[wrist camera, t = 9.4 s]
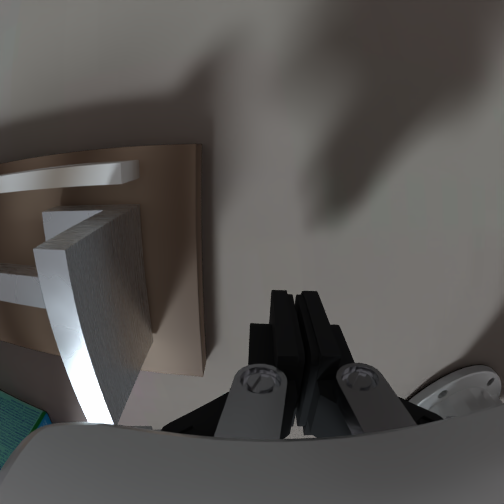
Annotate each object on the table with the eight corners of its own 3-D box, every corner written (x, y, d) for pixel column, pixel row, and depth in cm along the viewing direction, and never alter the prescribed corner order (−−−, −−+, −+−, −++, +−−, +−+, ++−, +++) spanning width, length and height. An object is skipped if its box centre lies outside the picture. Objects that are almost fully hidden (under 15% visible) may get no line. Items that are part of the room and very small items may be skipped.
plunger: (139, 204, 13) (64, 250, 7) (153, 340, 15) (115, 428, 9) (-7, 209, 13) (-83, 243, 7) (18, 319, 15) (-37, 374, 9)
